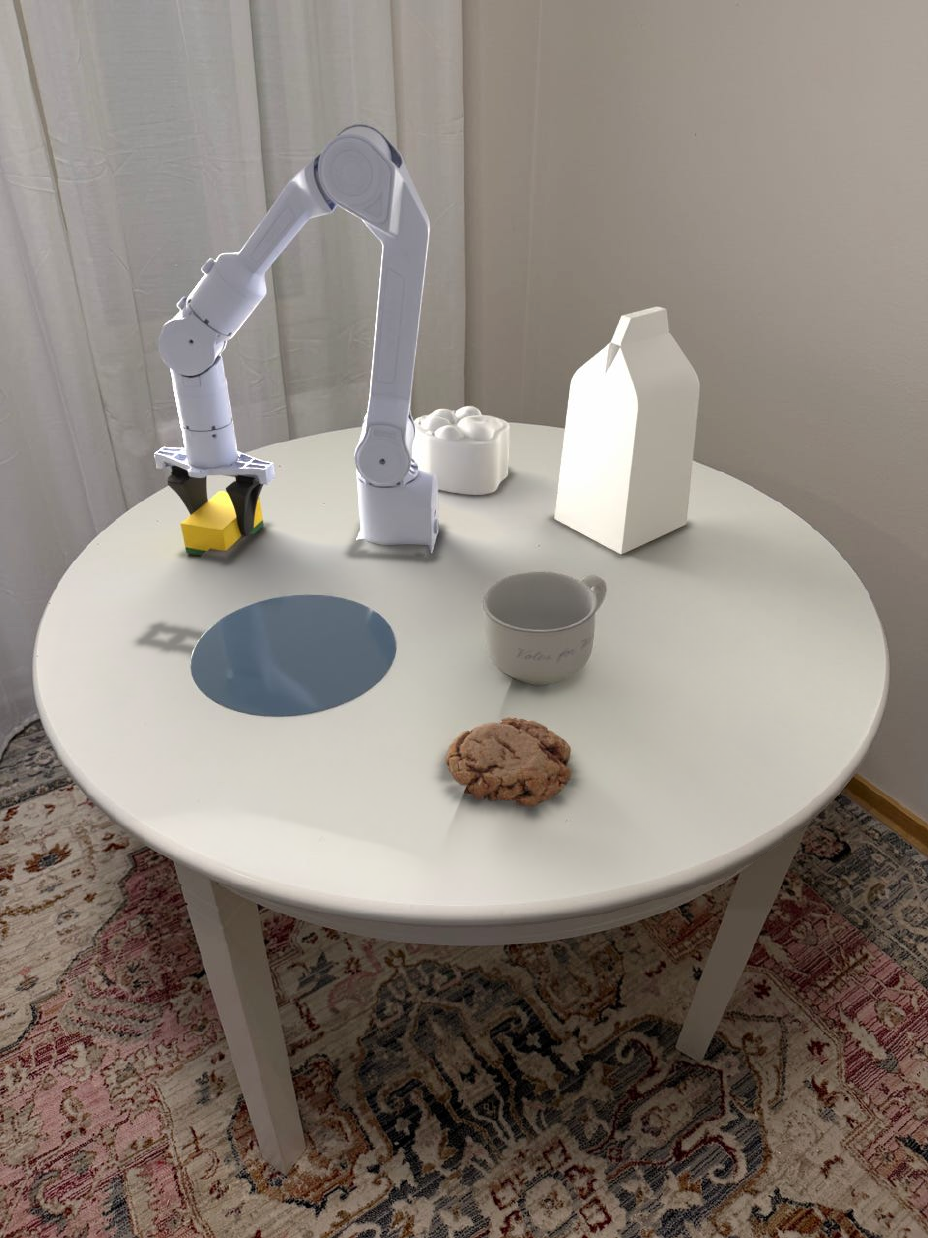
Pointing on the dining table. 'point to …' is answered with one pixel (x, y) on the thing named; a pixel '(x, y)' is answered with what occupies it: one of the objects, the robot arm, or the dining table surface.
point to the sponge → (215, 525)
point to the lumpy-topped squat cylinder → (462, 450)
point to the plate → (293, 655)
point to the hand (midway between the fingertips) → (224, 528)
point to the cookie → (510, 761)
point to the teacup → (541, 624)
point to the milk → (630, 437)
